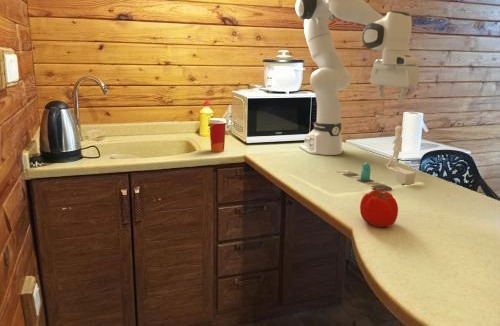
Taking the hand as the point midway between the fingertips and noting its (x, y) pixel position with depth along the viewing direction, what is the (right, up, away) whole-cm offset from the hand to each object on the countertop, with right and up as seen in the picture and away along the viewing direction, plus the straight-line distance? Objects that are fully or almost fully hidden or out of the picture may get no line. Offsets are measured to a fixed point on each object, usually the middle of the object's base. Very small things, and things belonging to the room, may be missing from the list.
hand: (390, 98), depth 148 cm
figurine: (+6, -26, +16) cm, 31 cm away
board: (-10, -30, +1) cm, 32 cm away
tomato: (-16, -40, -37) cm, 57 cm away
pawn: (-10, -29, -1) cm, 31 cm away
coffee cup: (-66, -18, +45) cm, 82 cm away
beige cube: (+5, -31, -1) cm, 31 cm away
